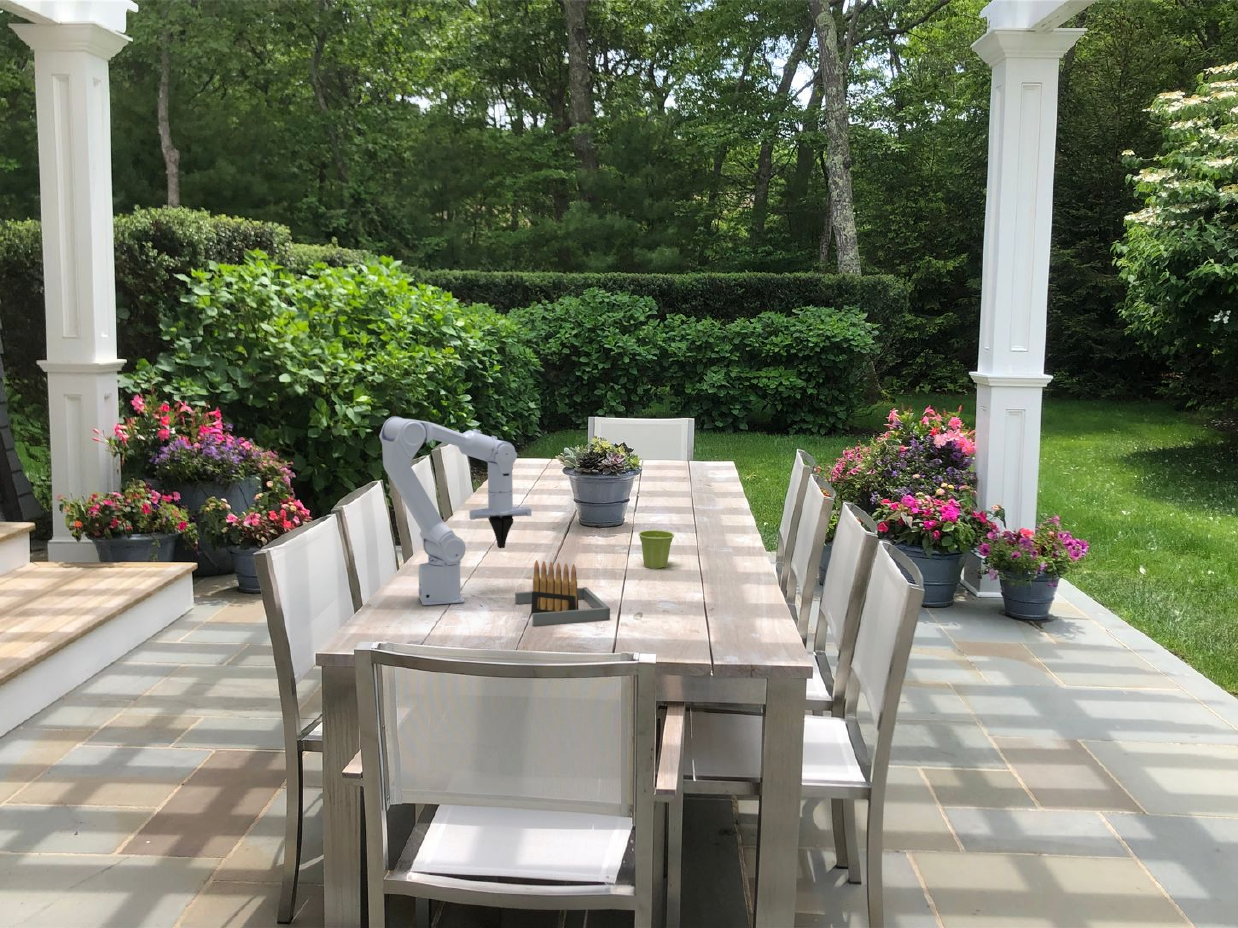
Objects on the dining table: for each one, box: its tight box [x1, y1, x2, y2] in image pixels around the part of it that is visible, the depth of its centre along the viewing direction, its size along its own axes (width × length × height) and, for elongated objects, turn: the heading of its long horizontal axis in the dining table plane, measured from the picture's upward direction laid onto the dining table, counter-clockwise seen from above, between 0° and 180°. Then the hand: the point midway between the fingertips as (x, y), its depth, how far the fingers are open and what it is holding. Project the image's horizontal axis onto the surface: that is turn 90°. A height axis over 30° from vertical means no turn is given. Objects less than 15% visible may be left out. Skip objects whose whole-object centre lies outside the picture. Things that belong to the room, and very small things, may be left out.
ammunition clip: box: [530, 560, 580, 614], centre depth 227 cm, size 11×2×12 cm, turn 71°
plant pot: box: [638, 529, 675, 570], centre depth 272 cm, size 9×9×9 cm
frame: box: [514, 586, 611, 627], centre depth 231 cm, size 17×18×2 cm
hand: (501, 547), depth 246 cm, fingers closed
